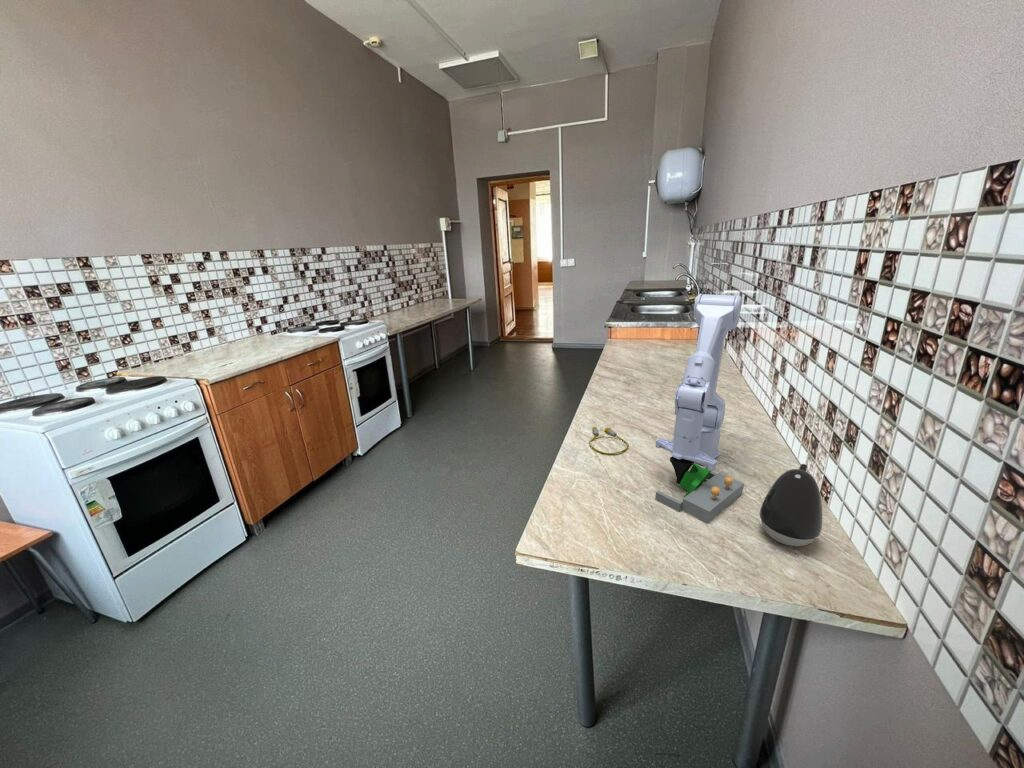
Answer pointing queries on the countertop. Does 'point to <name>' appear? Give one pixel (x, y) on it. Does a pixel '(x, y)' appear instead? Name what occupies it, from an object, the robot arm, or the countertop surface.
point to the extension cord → (610, 432)
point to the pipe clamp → (694, 478)
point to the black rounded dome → (793, 508)
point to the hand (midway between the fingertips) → (680, 482)
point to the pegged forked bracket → (706, 497)
